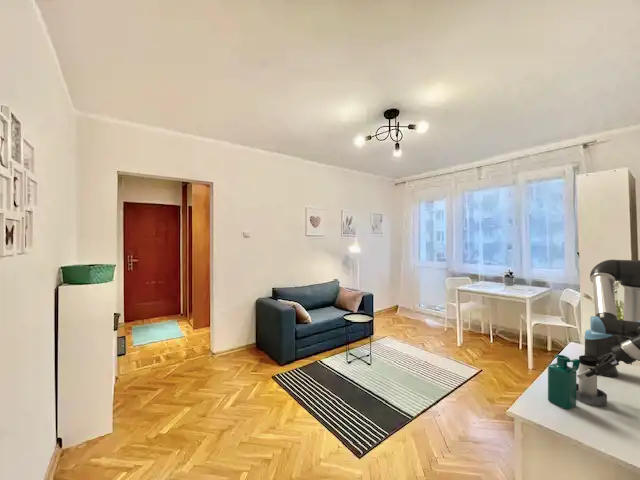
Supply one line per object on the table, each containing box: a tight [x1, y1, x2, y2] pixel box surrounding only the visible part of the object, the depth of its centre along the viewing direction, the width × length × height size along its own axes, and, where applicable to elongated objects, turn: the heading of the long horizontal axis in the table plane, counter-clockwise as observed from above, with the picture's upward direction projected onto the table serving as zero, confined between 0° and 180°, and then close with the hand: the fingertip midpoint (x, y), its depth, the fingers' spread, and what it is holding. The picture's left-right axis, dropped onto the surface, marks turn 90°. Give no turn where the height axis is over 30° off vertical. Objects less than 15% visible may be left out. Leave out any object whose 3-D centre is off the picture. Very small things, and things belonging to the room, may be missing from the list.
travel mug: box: [578, 354, 598, 396], centre depth 132 cm, size 6×7×20 cm
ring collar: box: [576, 382, 608, 408], centre depth 132 cm, size 12×12×4 cm
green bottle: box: [547, 354, 580, 410], centre depth 127 cm, size 10×8×22 cm
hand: (581, 373), depth 133 cm, fingers open, 13 cm apart
